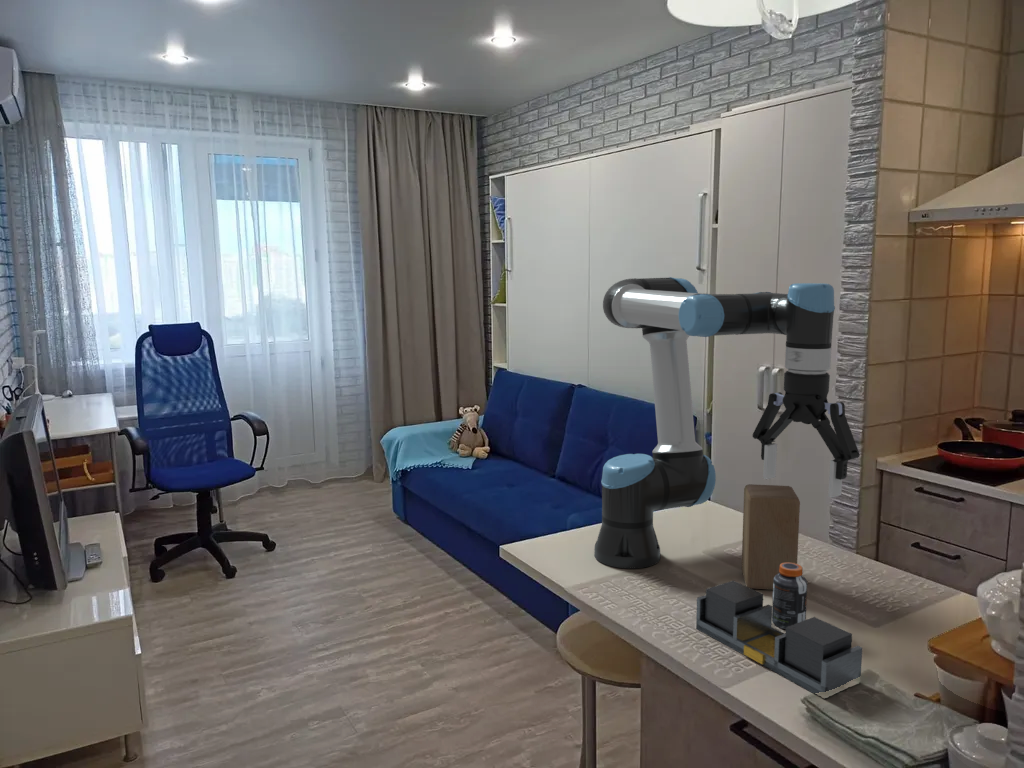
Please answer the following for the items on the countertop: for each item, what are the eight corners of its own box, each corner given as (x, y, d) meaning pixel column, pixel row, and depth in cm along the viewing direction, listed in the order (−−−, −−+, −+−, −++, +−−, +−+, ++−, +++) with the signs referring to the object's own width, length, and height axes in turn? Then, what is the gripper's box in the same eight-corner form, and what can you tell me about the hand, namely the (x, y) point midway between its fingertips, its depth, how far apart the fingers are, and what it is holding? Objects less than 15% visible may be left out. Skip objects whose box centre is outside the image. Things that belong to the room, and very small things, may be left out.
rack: (694, 629, 136) (695, 588, 135) (730, 617, 141) (731, 577, 139) (822, 700, 113) (825, 651, 112) (860, 683, 117) (863, 635, 116)
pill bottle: (812, 629, 135) (815, 570, 134) (783, 632, 134) (785, 573, 133) (793, 614, 141) (796, 558, 140) (765, 618, 140) (767, 561, 138)
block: (796, 593, 151) (801, 498, 148) (745, 589, 153) (748, 496, 150) (788, 574, 160) (792, 484, 158) (740, 570, 162) (743, 482, 160)
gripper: (736, 365, 139) (732, 474, 142) (860, 381, 119) (852, 508, 122) (762, 362, 143) (757, 468, 147) (887, 377, 123) (878, 500, 126)
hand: (800, 486), depth 134 cm, fingers open, 13 cm apart
